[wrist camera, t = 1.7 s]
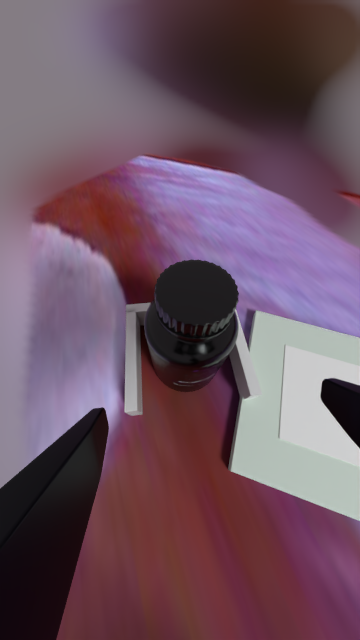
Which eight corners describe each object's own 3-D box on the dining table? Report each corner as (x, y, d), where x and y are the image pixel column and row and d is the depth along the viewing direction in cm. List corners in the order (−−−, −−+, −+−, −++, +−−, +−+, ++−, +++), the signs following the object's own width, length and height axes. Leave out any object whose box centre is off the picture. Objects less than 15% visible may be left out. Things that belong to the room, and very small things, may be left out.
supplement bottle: (189, 409, 19) (204, 376, 9) (140, 362, 21) (106, 291, 11) (230, 357, 22) (279, 285, 11) (183, 320, 24) (188, 232, 14)
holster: (251, 399, 20) (262, 394, 17) (131, 415, 19) (124, 412, 16) (225, 310, 25) (231, 295, 22) (131, 319, 24) (126, 304, 21)
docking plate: (445, 553, 15) (464, 561, 14) (228, 469, 17) (231, 471, 16) (398, 353, 22) (408, 350, 21) (253, 314, 25) (256, 309, 24)
